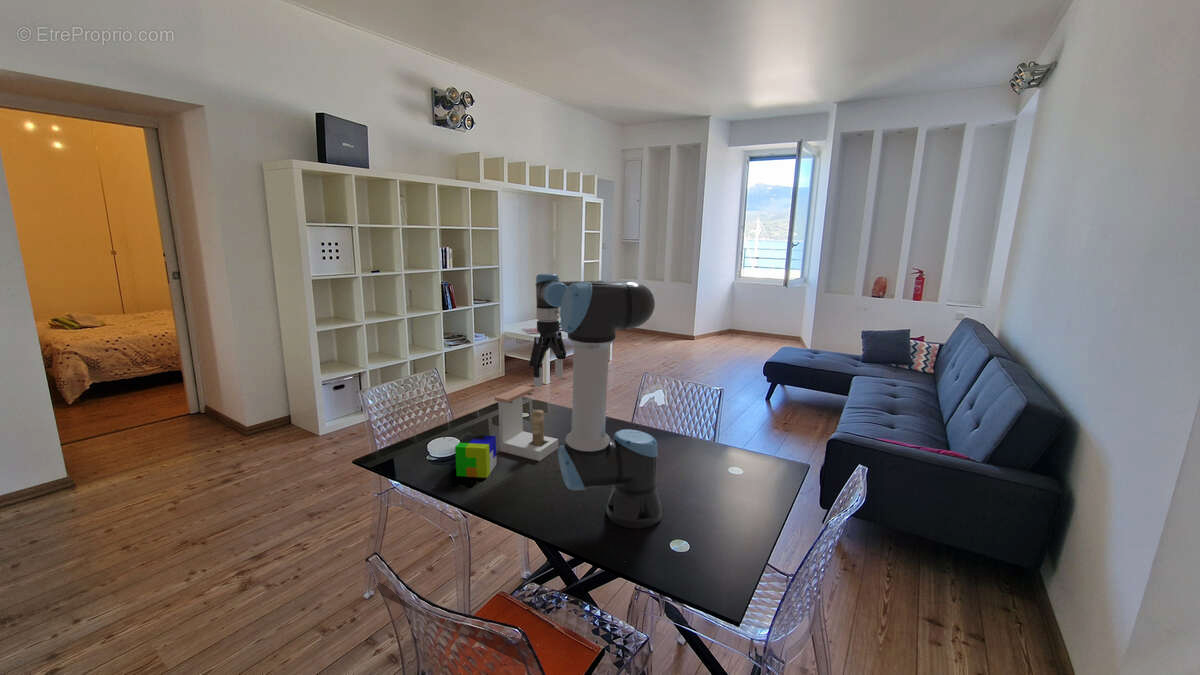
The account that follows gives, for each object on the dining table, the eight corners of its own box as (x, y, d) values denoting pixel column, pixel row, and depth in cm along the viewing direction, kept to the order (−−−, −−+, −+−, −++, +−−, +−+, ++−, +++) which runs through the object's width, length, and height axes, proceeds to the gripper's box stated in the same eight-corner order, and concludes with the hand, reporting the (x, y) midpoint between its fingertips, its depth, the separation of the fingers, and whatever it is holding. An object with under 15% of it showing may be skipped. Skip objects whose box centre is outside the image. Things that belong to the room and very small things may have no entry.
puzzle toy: (496, 463, 165) (495, 436, 163) (487, 478, 156) (485, 448, 154) (467, 462, 166) (466, 434, 164) (456, 476, 156) (455, 446, 154)
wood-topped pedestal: (508, 446, 170) (507, 399, 167) (496, 443, 173) (494, 397, 169) (535, 431, 184) (534, 387, 181) (523, 428, 187) (522, 385, 183)
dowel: (539, 454, 172) (539, 414, 169) (530, 452, 174) (529, 412, 171) (546, 450, 176) (545, 410, 173) (536, 448, 178) (536, 409, 175)
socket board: (539, 461, 167) (539, 451, 167) (500, 451, 175) (499, 441, 174) (558, 448, 178) (558, 439, 177) (520, 439, 186) (519, 430, 185)
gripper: (537, 325, 152) (538, 392, 155) (575, 316, 174) (575, 374, 177) (517, 324, 155) (518, 389, 158) (557, 315, 177) (558, 372, 181)
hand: (549, 381), depth 168 cm, fingers open, 13 cm apart
